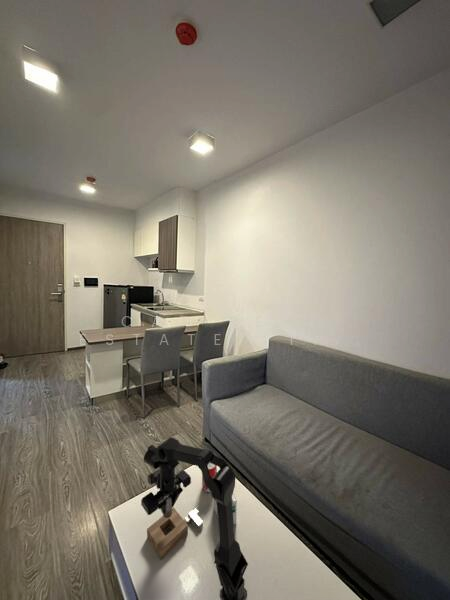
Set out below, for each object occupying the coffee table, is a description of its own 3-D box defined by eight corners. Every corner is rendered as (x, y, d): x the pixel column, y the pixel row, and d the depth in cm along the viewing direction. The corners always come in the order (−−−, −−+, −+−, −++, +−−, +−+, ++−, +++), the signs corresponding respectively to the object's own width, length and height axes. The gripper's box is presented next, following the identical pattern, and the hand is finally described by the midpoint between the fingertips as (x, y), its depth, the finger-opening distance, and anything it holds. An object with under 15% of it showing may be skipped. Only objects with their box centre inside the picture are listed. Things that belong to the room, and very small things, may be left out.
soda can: (214, 495, 109) (215, 471, 108) (200, 492, 110) (200, 468, 109) (218, 482, 116) (218, 459, 114) (204, 479, 117) (204, 457, 116)
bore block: (187, 534, 92) (187, 524, 92) (160, 559, 83) (160, 550, 83) (173, 515, 99) (173, 507, 99) (147, 537, 90) (147, 528, 90)
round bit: (173, 513, 90) (173, 497, 90) (166, 519, 88) (165, 503, 87) (169, 507, 93) (168, 491, 92) (161, 513, 90) (161, 497, 90)
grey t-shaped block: (206, 523, 96) (206, 518, 96) (194, 534, 92) (195, 529, 92) (195, 511, 101) (195, 506, 101) (184, 521, 97) (184, 516, 97)
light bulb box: (236, 524, 96) (237, 500, 95) (221, 530, 94) (221, 506, 93) (227, 501, 106) (227, 479, 105) (213, 506, 103) (213, 484, 102)
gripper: (176, 449, 101) (176, 482, 102) (134, 474, 88) (134, 512, 89) (191, 463, 93) (191, 499, 95) (148, 494, 80) (149, 535, 81)
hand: (167, 510), depth 90 cm, fingers closed on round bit, 3 cm apart
